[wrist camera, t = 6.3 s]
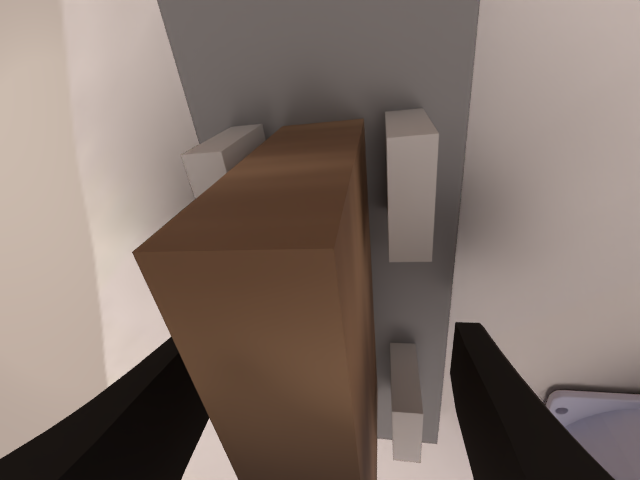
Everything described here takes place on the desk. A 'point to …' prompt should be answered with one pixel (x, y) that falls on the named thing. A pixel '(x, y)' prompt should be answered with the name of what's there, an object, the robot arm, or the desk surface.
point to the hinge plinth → (380, 143)
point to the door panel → (279, 305)
